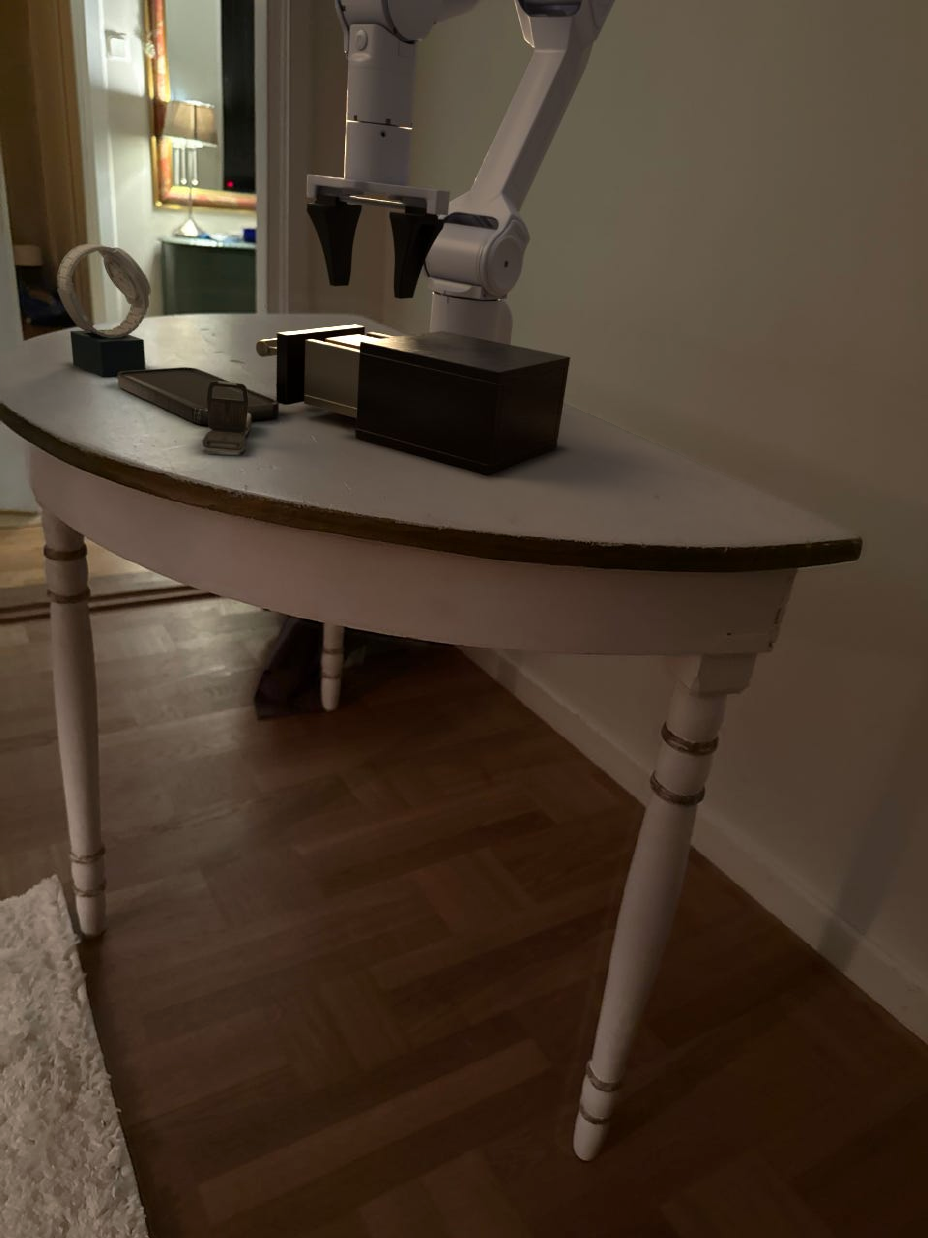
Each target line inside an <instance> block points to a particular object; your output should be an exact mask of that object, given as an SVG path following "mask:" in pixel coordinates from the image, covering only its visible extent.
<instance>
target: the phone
mask: <svg viewBox="0 0 928 1238" xmlns="http://www.w3.org/2000/svg"><path fill="white" fill-rule="evenodd" d="M212 381H223V382H230V381H229V380H227V379H224V378H222V377H219V376H216V375H214V374H211V373H210V372H206V371H204V370H202V369H199V368H196V367H188V366H187V367H186V366H185V367H184V366H183V367H182V366H181V367H164V368H151V369H145V370H133V371H121V372H118V376H117V386H118V387H119V388H120V389H123V390H125V391H126V392H129V393H131V394H133V395H135V396H138V397H140V398H142V399H144V400H146V401H148V402H150V403H152V404H155V405H157V406H158V407H160V408H163V409H165V410H167V411H169V412H171V413H174V414H176V415H177V416H180V417H181V418H184V419H186V420H188V421H190V422H192V423H195V424H198V425H207V426H208V410H207V393H208V387H209V384H210V383H211V382H212ZM247 392H248V399H249V403H248V413H250V414H251V421H255V420H266V419H273V418H278V417H279V415H280V411H279V409H280V407H279V406H280V403H279V402H278V401H277V400H276V399H275V398H272V397H269V396H267V395H264V394H261V393H260V392H256V391H255V390H252V389H249V388H247ZM212 398H222V399H233V400H244V398H243V390H242V389H241V388H235V387H225V386H214V387H213V395H212Z"/></svg>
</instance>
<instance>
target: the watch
mask: <svg viewBox="0 0 928 1238" xmlns="http://www.w3.org/2000/svg"><path fill="white" fill-rule="evenodd" d="M95 252H98V253H99V254H100V256H101V258H102V259H103V261H102V263H103V265H104V269H105V271H106V273H107V275H108V278H109V279H110V280H111V283H113V285H114V286H115V288H117V289H118V291H119V292H120V293H122V295H124V298H125V301H126V303H127V304H128V305H130V307H129V310H128V312H127V314H126V316H125V318H124V319H123V320H122V321H121V322H120V324H119V325H116V326H115V327H113V328H112V329H111V328H110V329H97V328H95V327H94V325H95V324H94V322H93V321H92V320H91V318H90V317H89V316H88V314H87V312H86V311H85V309H84V307H83V305H82V302H81V300H80V299H79V295H78V293H76V291H75V286H74V283H73V281H72V280H73V278H72V277H73V275H74V272H75V268H76V267H77V266H78V265H79V263H80V262H81V260H83V259H84V258H85V257H87V256H88V255H91V254H93V253H95ZM56 281H57V282H56V283H57V289H56V291H57V293H58V297H59V299H60V301H61V303H62V305H63V307H64V309H65V311H66V313H67V314H68V316H69V317H70V318H71V320H72V321H73V323H74V324H75V325H76V326H77V328H79V329H81V330H70V342H71V343H70V344H71V354H72V364H73V365H72V366H75V367H78V368H80V369H83V370H85V371H88V372H89V373H93V374H95V375H98V376H100V377H103V378H107V377H118V372H121V371H133V370H146V355H145V354H146V353H145V339H143V338H140V337H137V336H134V335H131V334H132V333H133V332H134V331H135V330H137V329H138V328H139V326H140V325H141V324H142V322H143V321H144V319H145V316H146V314H147V312H148V308H149V307H150V299H149V296H151V293H152V288H151V284H150V281H149V279H148V278H147V275H146V274H145V272H144V270H143V269H142V268H141V266H140V265H139V264H138V263H137V261H136V260H135V259H134V258H133V256H131V255H130V254H129V253H128V252H127V251H125V250H123V248H121V247H118V246H117V247H111V246H105V245H103V244H98V243H83V244H80V245H77V246H75V247H74V248H72V249H71V250H69V251H68V252H67V254H65V255H64V257H63V258H62V260H61V263H60V264H59V267H58V270H57V275H56Z"/></svg>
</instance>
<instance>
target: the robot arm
mask: <svg viewBox="0 0 928 1238" xmlns="http://www.w3.org/2000/svg"><path fill="white" fill-rule="evenodd" d="M615 1H616V0H514V4H515V8H516V12H517V15H518V21H519V23H520V28H521V32H522V35H523V40H525V41H526V42H527V43H528V45H530V46H531V47H532V48H533V53H532V57H531V59H530V61H529V63H528V65H527V67H526V69H525V72H524V74H523V76H522V78H521V80H520V82H519V84H518V86H517V88H516V91H515V93H514V96H513V97H512V100H511V101H510V103H509V105H508V108H507V111H506V112H505V114H504V117H503V119H502V121H501V123H500V126H499V128H498V130H497V132H496V134H495V136H494V138H493V141H492V143H491V145H490V147H489V149H488V152H487V154H486V156H485V158H484V160H483V162H482V164H481V166H480V168H479V171H478V173H477V175H476V177H475V179H474V182H473V184H472V186H471V188H470V189H469V190H468V191H466V192H464V193H463V194H461V195H459V196H458V197H456V198H454V199H452V200H450V197H451V191H450V190H444V189H434V188H428V187H420V186H412V185H411V186H410V185H409V183H410V168H411V153H412V138H413V124H414V108H415V93H416V79H417V78H416V76H417V61H418V50H419V49H418V45H419V41H420V42H421V41H422V42H423V41H424V40H425V39H426V38H427V37H428V36H429V34H430V33H431V31H432V29H433V27H435V26H438V25H439V24H443V23H446V22H448V21H451V20H453V19H456V18H459V17H461V16H465V15H466V14H469V13H471V12H472V11H473V10H475V9H476V7H477V6H478V4H479V2H480V0H334V7H335V11H336V12H335V13H336V15H337V18H338V19H337V20H338V21H339V23H340V26H341V28H342V32H343V52H344V53H345V56H346V59H347V61H348V64H347V90H346V116H345V117H346V118H345V121H346V122H345V123H346V124H345V142H344V143H345V147H344V148H345V149H344V152H345V153H344V172H343V176H344V177H334V176H328V175H327V176H326V175H318V174H307V175H306V197H307V198H310V199H316V200H314V203H313V202H312V203H311V202H307V203H306V212H307V215H308V216H309V218H310V220H311V222H312V224H313V226H314V229H315V231H316V234H317V236H318V237H317V238H318V239H319V243H320V246H321V249H322V252H323V253H322V254H323V257H324V261H325V266H326V272H327V278H328V282H329V286H332V287H348V286H349V284H350V280H351V273H352V261H353V260H352V258H353V247H354V241H355V235H356V230H357V227H358V222H359V220H360V216H361V213H362V211H363V205H366V206H371V207H372V206H373V207H381V208H388V209H395V210H404V212H403V211H389V215H388V217H389V221H390V227H391V233H392V239H393V251H394V267H393V295H394V296H393V297H394V298H395V299H400V300H403V299H404V300H405V299H414V296H415V292H416V288H417V285H418V281H419V278H420V275H421V272H422V275H423V276H424V278H425V279H426V280H427V282H428V283H427V289H428V290H431V291H433V292H432V299H431V312H430V322H429V323H430V324H429V333H431V332H438V331H445V332H450V333H455V334H459V335H464V336H469V337H474V338H479V339H484V340H489V341H494V342H499V343H503V344H508V345H511V343H512V335H513V327H514V325H513V324H514V319H513V313H512V311H511V308H510V306H509V305H508V303H507V301H506V300H507V299H508V294H509V293H510V292H511V291H512V290H513V288H514V287H515V286H516V284H517V283H518V280H519V278H520V277H521V273H522V269H523V262H524V255H525V252H526V249H527V247H528V245H529V242H530V241H531V237H530V233H529V229H528V226H527V224H526V222H525V221H524V219H523V218H522V216H521V215H520V211H521V209H522V206H523V205H524V202H525V200H526V198H527V196H528V194H529V192H530V189H531V187H532V185H533V183H534V181H535V178H536V177H537V174H538V173H539V170H540V168H541V166H542V163H543V161H544V159H545V157H546V154H547V152H548V150H549V148H550V146H551V144H552V141H553V139H554V137H555V136H556V132H557V131H558V129H559V127H560V124H561V122H562V120H563V118H564V116H565V113H566V111H567V110H568V107H569V105H570V103H571V100H572V99H573V97H574V95H575V92H576V90H577V88H578V86H579V84H580V82H581V79H582V77H583V74H584V72H586V71H585V70H586V68H587V65H588V63H589V60H590V56H591V53H592V50H593V46H594V43H595V42H596V41H597V39H598V38H599V36H600V34H601V32H602V29H603V27H604V25H605V23H606V21H607V18H608V16H609V14H610V13H611V10H612V8H613V6H614V3H615ZM365 193H372V194H381V195H387V200H380V199H375V198H374V199H373V198H367V197H364V196H365ZM357 196H363V197H357ZM389 200H391V201H389ZM395 201H398V202H395ZM399 201H400V202H399Z"/></svg>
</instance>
